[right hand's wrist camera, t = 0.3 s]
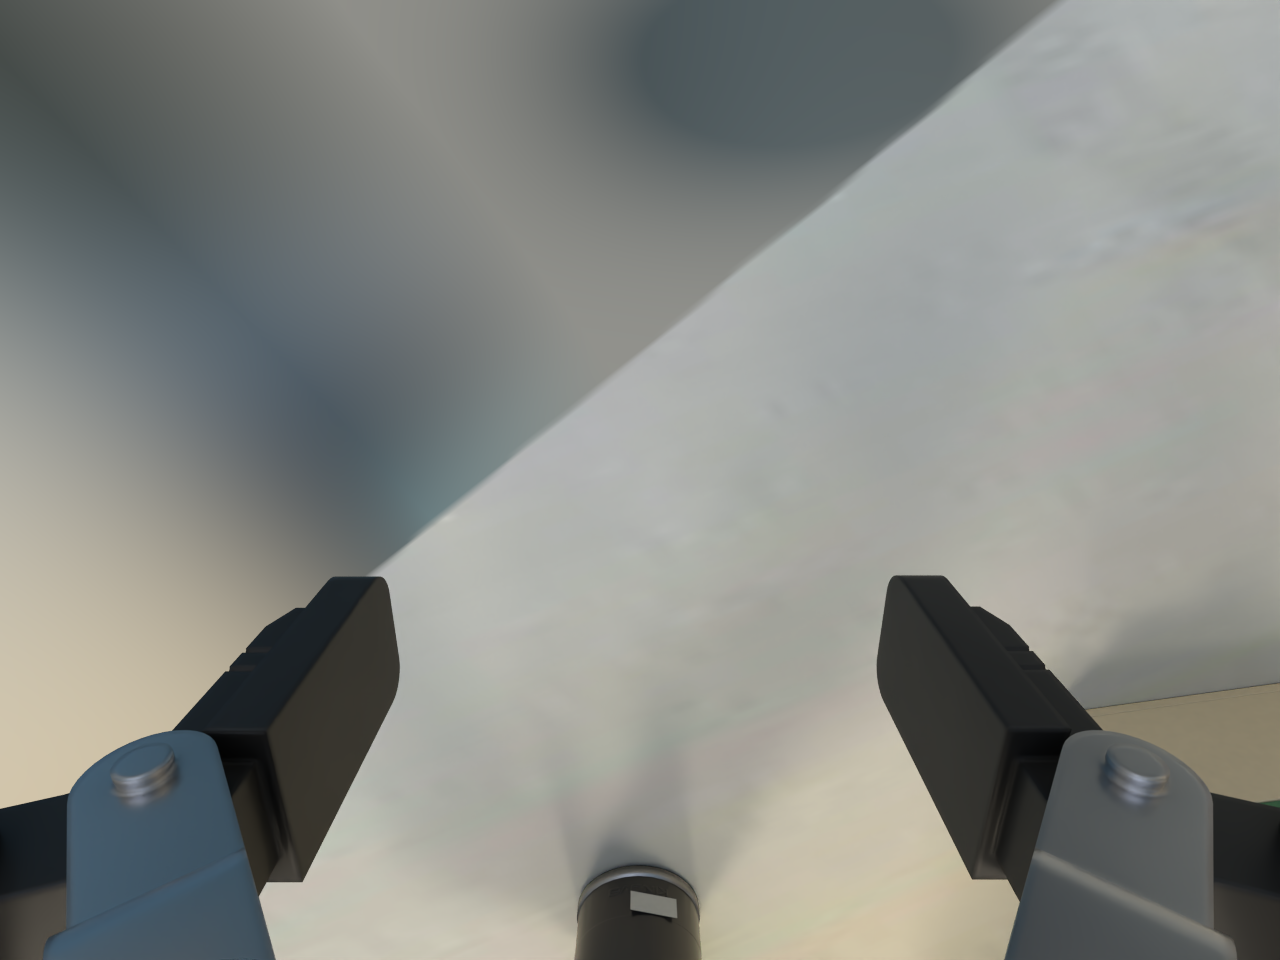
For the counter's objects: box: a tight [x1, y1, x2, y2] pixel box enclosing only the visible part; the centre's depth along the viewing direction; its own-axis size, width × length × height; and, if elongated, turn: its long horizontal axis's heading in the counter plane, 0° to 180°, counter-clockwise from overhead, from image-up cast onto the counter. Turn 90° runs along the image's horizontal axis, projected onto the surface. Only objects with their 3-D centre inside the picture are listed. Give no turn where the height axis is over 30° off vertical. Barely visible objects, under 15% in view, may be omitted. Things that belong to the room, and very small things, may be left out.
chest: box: [1086, 683, 1280, 803], centre depth 45 cm, size 16×10×9 cm, turn 100°
